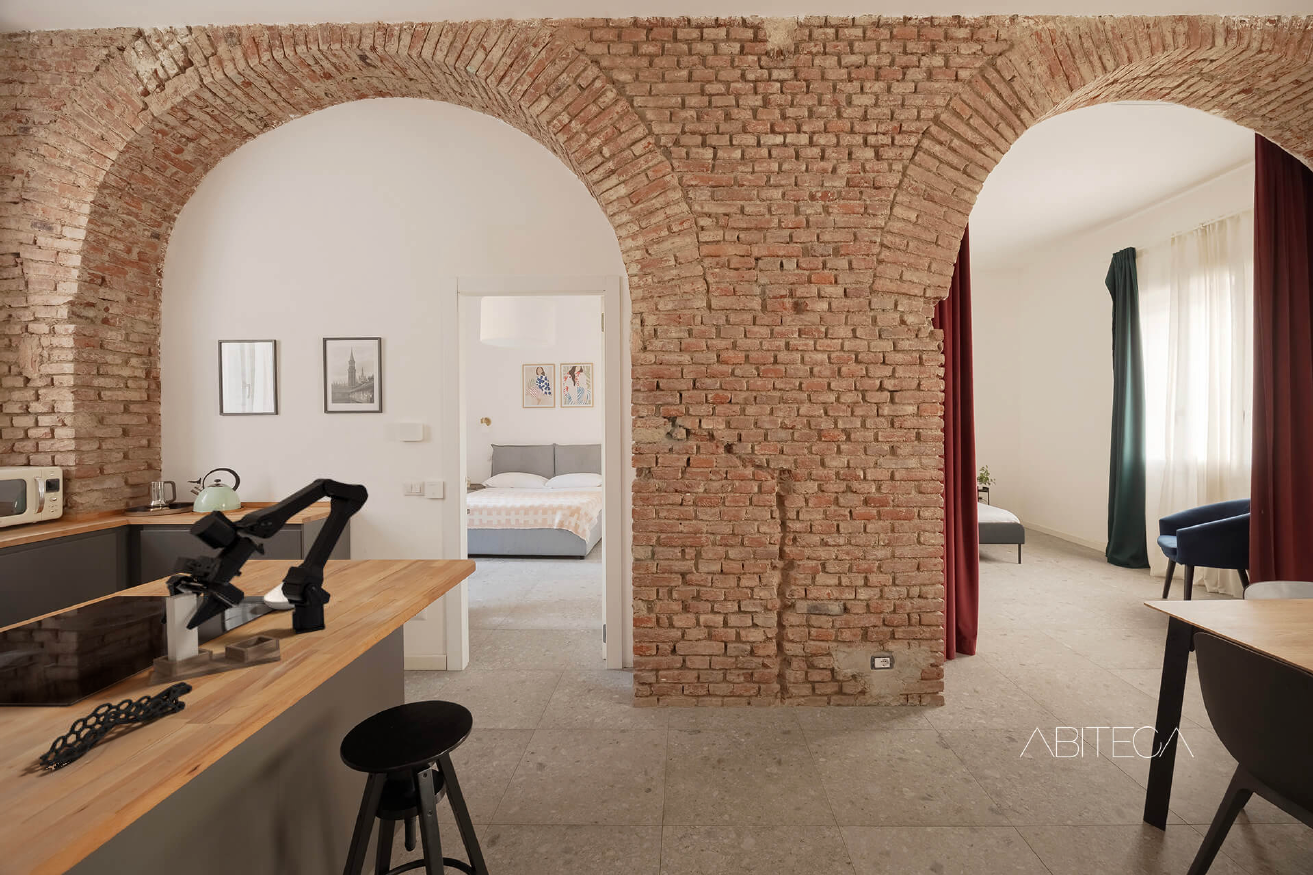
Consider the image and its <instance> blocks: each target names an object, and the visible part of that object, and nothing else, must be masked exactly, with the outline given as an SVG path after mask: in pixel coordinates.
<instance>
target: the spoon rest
mask: <svg viewBox="0 0 1313 875" xmlns="http://www.w3.org/2000/svg"><path fill="white" fill-rule="evenodd" d="M283 583H284V582H282V581H281V583H280V584H278V585H277V586H275V587H274V588H273V589H271V590H270V591H269V592H267V593H266V594H265V595H264V596H263V597H262V600H263V602H264V603H265V605H266V606H268V607H269V608H271V609H275V610H282V611H283V610H284V611H285V610H291V609H294V604H289V602H288V600H287V598H286V597H284V595H283V592H282V590H281V588H282V585H283Z"/></svg>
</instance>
